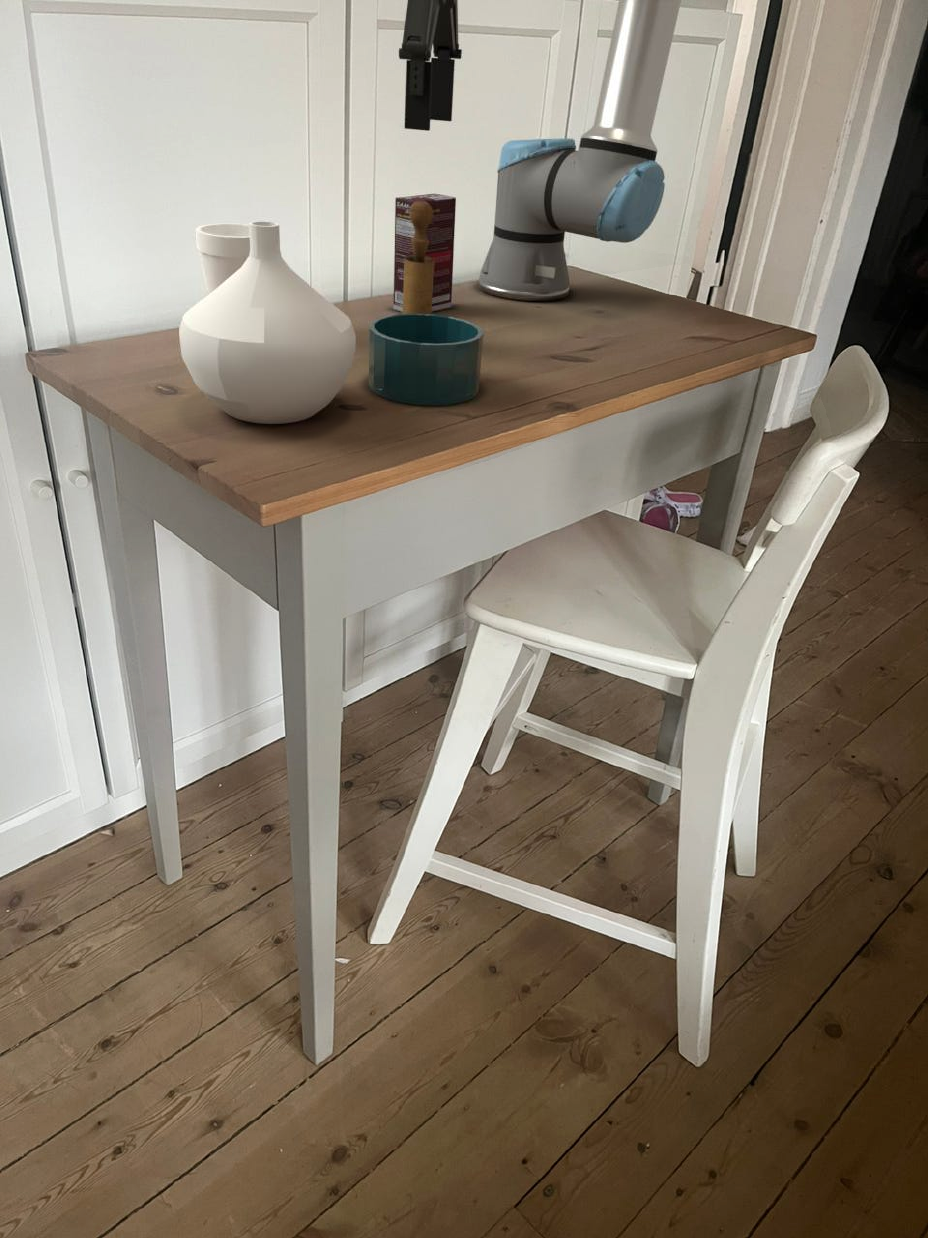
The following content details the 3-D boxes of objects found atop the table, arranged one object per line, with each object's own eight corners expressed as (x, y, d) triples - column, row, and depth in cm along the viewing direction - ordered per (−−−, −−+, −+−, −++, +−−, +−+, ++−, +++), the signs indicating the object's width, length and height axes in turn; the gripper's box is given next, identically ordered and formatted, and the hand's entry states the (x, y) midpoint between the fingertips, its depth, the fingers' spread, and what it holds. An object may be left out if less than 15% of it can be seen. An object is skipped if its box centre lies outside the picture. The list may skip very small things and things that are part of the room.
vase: (158, 395, 105) (139, 211, 95) (304, 373, 115) (300, 204, 105) (231, 452, 93) (218, 248, 83) (386, 421, 103) (392, 236, 93)
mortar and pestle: (433, 353, 126) (440, 207, 116) (386, 347, 127) (389, 202, 117) (443, 340, 131) (451, 200, 122) (398, 334, 132) (403, 195, 123)
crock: (410, 362, 122) (412, 307, 118) (498, 386, 116) (503, 328, 112) (346, 387, 112) (346, 327, 108) (438, 414, 106) (442, 352, 103)
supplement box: (429, 301, 149) (434, 192, 141) (452, 308, 147) (458, 197, 138) (390, 309, 143) (393, 196, 135) (413, 316, 141) (418, 201, 132)
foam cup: (190, 336, 125) (182, 231, 118) (222, 319, 133) (215, 220, 126) (257, 345, 123) (252, 240, 116) (285, 328, 131) (282, 228, 124)
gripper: (427, -93, 109) (419, 114, 121) (374, -124, 89) (371, 130, 100) (491, -89, 109) (477, 119, 120) (453, -119, 88) (441, 136, 99)
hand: (429, 124), depth 110 cm, fingers open, 13 cm apart
